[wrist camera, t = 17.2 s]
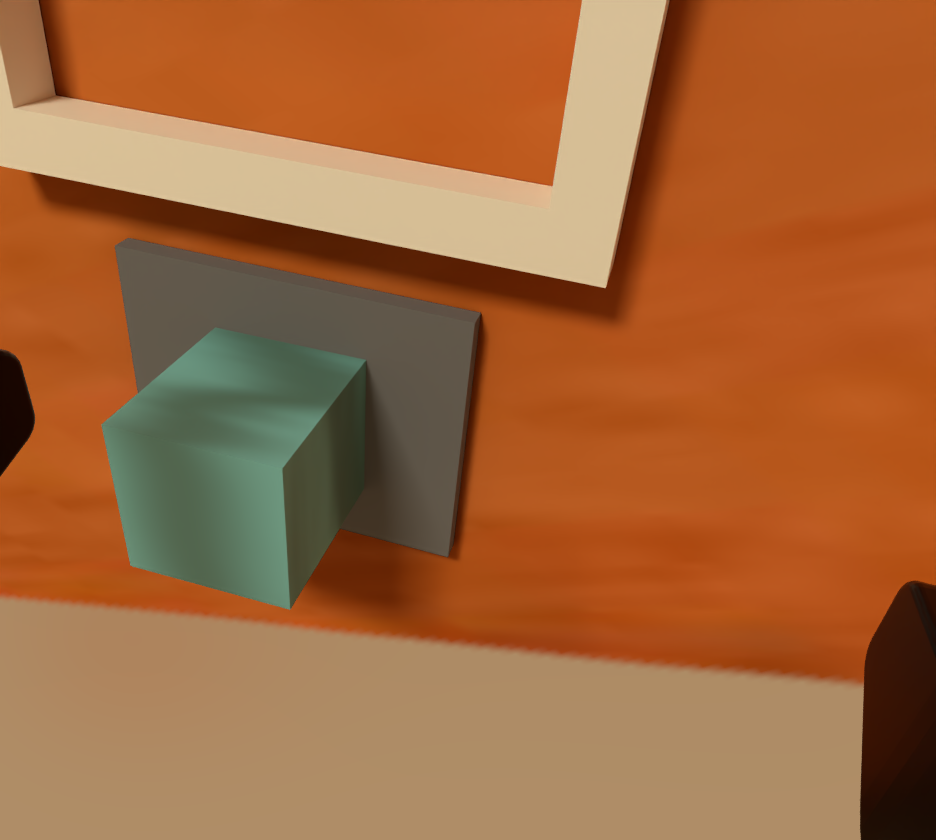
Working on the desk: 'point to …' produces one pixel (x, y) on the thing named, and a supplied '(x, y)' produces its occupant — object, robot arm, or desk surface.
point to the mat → (342, 332)
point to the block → (240, 464)
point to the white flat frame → (362, 158)
